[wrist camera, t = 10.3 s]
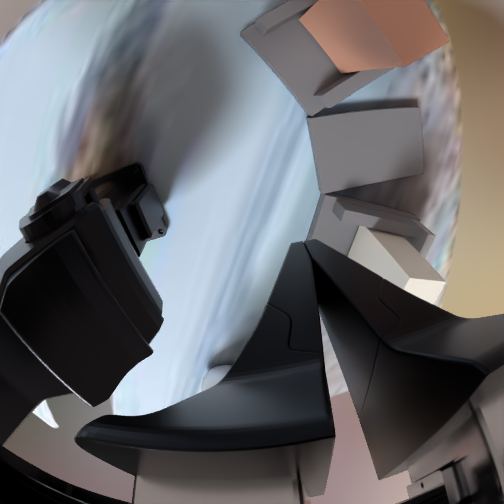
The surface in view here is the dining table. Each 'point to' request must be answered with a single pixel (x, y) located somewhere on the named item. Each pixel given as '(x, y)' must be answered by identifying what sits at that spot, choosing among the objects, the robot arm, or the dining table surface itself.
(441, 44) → the terracotta key
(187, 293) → the dining table surface
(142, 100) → the dining table surface
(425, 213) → the dining table surface
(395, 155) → the grey tray
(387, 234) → the cream key
